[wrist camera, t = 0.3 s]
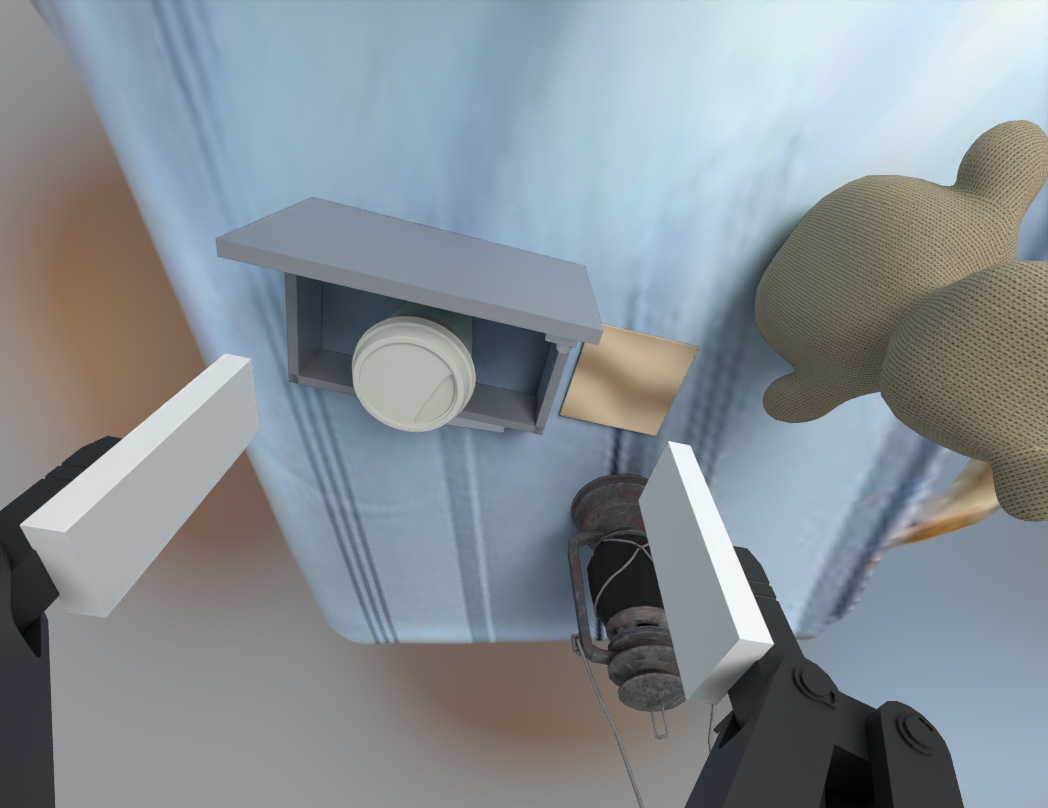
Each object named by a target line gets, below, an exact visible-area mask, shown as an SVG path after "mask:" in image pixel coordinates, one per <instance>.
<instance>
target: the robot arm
mask: <svg viewBox="0 0 1048 808" xmlns="http://www.w3.org/2000/svg"><path fill="white" fill-rule="evenodd" d="M259 431H260V426H259V417H258V409H257V400H256V392H255V383H254V374H253V366H252V359H251V358H245V357H240V356H235V355H230V354H224V355H223V356H221V357H220V358H219V359H218V360H217V361H215V362H214V363H213V364H212V365H211V366H209V367H208V368H207V369H206V370H205V371H203V372H202V373H201V374H200V375H199V376H197V377H196V378H195V379H194V380H193V381H192V382H190V383H189V384H188V385H187V386H186V387H184V388H183V389H182V390H181V391H180V392H178V393H177V394H176V395H175V396H174V397H172V398H171V399H170V400H169V401H168V402H166V403H165V404H164V405H163V406H162V407H160V408H159V409H158V410H157V411H156V412H154V413H153V414H152V415H151V416H150V417H149V418H147V419H146V420H145V421H144V422H142V423H141V424H140V425H139V426H138V427H136V428H135V429H134V430H133V431H132V432H130V433H129V434H128V435H127V436H126V437H125V438H123V439H122V438H117V437H111V436H106V437H104V438H102V439H100V440H97V441H95V442H93V443H91V444H88V445H86V446H84V447H82V448H81V449H79V450H78V451H77V452H75V453H74V454H73V455H72V456H70V457H69V458H68V459H66V460H65V461H64V462H63V463H62V465H61V466H57V467H56V468H55V469H54V470H52V471H51V472H50V473H48V474H47V475H46V477H45V479H41V480H39V481H38V482H37V483H36V484H34V485H33V486H32V487H30V488H29V489H28V490H27V491H25V492H24V493H23V494H21V495H20V496H19V497H18V498H16V499H15V500H14V501H12V502H11V503H10V504H9V505H7V506H6V507H5V508H3V509H2V510H1V511H0V808H55V791H54V766H53V765H54V764H53V739H52V712H51V685H50V660H49V659H50V658H49V631H48V619H47V617H46V614H45V612H44V611H45V610H46V609H47V608H48V607H49V606H50V605H51V604H52V603H53V602H54V600H55V599H56V598H57V597H58V596H59V597H60V599H61V601H62V603H63V605H64V607H65V608H66V610H67V612H70V613H77V614H84V615H91V616H98V617H105V618H106V617H107V616H108V615H109V613H110V612H111V611H112V610H113V609H114V607H115V606H116V605H117V604H118V603H119V601H120V600H121V599H122V598H123V596H124V595H125V594H126V593H127V592H128V590H129V589H130V588H131V587H132V585H133V584H134V583H135V582H136V581H137V579H138V578H139V577H140V576H141V575H142V573H143V572H144V571H145V570H146V569H147V567H148V566H149V565H150V563H151V562H152V561H153V560H154V559H155V558H156V556H157V555H158V554H159V553H160V551H161V550H162V549H163V548H164V547H165V545H166V544H167V543H168V542H169V540H170V539H171V538H172V537H173V536H174V534H175V533H176V532H177V531H178V530H179V528H180V527H181V526H182V525H183V523H184V522H185V521H186V520H187V519H188V518H189V516H190V515H191V514H192V513H193V511H194V510H195V509H196V508H197V507H198V505H199V504H200V503H201V502H202V501H203V499H204V498H205V497H206V496H207V494H208V493H209V492H210V491H211V490H212V488H213V487H214V486H215V485H216V484H217V482H218V481H219V480H220V479H221V477H222V476H223V475H224V473H226V471H227V470H228V469H229V468H230V467H231V465H232V464H233V463H234V462H235V460H236V459H237V458H238V457H239V456H240V454H241V453H242V452H243V451H244V450H245V448H246V447H247V446H248V445H249V443H250V442H251V441H252V440H253V439H254V437H255V436H256V435H257V434H258V433H259ZM639 504H640V509H641V513H642V517H643V521H644V525H645V529H646V534H647V538H648V542H649V546H650V550H651V555H652V559H653V563H654V567H655V571H656V575H657V580H658V584H659V588H660V592H661V596H662V600H663V605H664V609H665V613H666V617H667V621H668V626H669V630H670V634H671V638H672V642H673V646H674V651H675V655H676V659H677V663H678V667H679V672H680V676H681V680H682V684H683V688H684V692H685V697H686V701H693V702H700V703H707V704H714V705H717V704H718V703H719V701H721V699H722V698H723V697H724V696H725V695H726V694H727V693H728V695H729V698H730V701H731V704H732V707H733V710H732V711H731V712H730V713H729V714H728V715H727V716H726V717H725V718H724V719H723V720H722V721H721V722H720V723H719V724H718V725H717V726H716V727H715V728H714V729H713V730H714V731H715V732H716V733H717V734H718V733H719V735H718V737H717V739H716V742H715V743H714V746H713V748H712V750H711V752H710V754H709V756H708V758H707V761H706V763H705V765H704V767H703V769H702V771H701V774H700V775H699V778H698V780H697V782H696V784H695V786H694V788H693V791H692V793H691V795H690V797H689V799H688V801H687V803H686V806H685V808H964V806H963V802H962V798H961V794H960V790H959V787H958V782H957V779H956V774H955V770H954V766H953V762H952V758H951V755H950V752H949V750H948V748H947V745H946V743H945V741H944V740H943V738H942V737H941V736H940V734H939V733H938V731H937V730H936V728H935V727H934V726H933V725H932V724H931V723H930V722H929V721H928V720H927V719H926V718H925V717H924V716H923V715H921V714H920V713H918V712H917V711H915V710H914V709H913V708H911V707H910V706H908V705H906V704H903V703H900V702H898V701H887V702H886V703H884V704H883V705H882V706H880V707H879V708H878V709H875V708H873V707H871V706H869V705H866V704H864V703H862V702H860V701H858V700H856V699H854V698H852V697H850V696H847V695H845V694H843V693H841V692H840V691H838V688H837V687H836V685H835V684H834V682H833V681H832V680H831V678H830V677H829V675H828V674H827V673H825V672H824V671H823V670H822V669H821V668H820V667H819V666H818V665H816V664H815V663H813V662H811V661H810V660H808V659H806V658H805V657H804V656H803V654H802V651H801V649H800V647H799V645H798V643H797V641H796V639H795V636H794V634H793V632H792V630H791V628H790V626H789V624H788V621H787V619H786V617H785V615H784V613H783V611H782V608H781V606H780V604H779V602H778V601H776V596H775V593H774V591H773V589H772V587H771V586H769V581H768V578H767V576H766V574H765V572H764V570H763V568H762V565H761V564H760V563H759V562H758V561H757V559H756V558H755V557H754V556H753V555H752V554H751V552H750V551H749V550H748V549H747V548H742V547H736V546H732V543H731V541H730V539H729V536H728V534H727V532H726V529H725V527H724V524H723V522H722V520H721V517H720V515H719V513H718V510H717V508H716V505H715V503H714V501H713V498H712V496H711V494H710V491H709V489H708V486H707V484H706V482H705V479H704V477H703V475H702V472H701V470H700V467H699V465H698V463H697V460H696V458H695V456H694V453H693V451H692V449H691V446H690V445H685V444H680V443H675V442H670V441H668V442H667V444H666V446H665V448H664V450H663V452H662V454H661V456H660V458H659V460H658V462H657V464H656V466H655V468H654V470H653V472H652V474H651V476H650V478H649V480H648V482H647V484H646V486H645V488H644V490H643V492H642V494H641V496H640V498H639Z"/></svg>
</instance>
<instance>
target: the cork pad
mask: <svg viewBox="0 0 1048 808" xmlns="http://www.w3.org/2000/svg"><path fill="white" fill-rule="evenodd" d="M602 327H603V330H604V331H603V334H602V337H601V339H600V342H599V345H594V344H590V343H585V342H584V344H583V347H582V350H581V353H580V356H579V359H578V361H577V364H576V367H575V370H574V373H573V376H572V379H571V382H570V385H569V388H568V391H567V394H566V397H565V399H564V402H563V405H562V408H561V411H560V415H562V416H566V417H571V418H575V419H580V420H585V421H589V422H594V423H599V424H603V425H608V426H612V427H617V428H622V429H626V430H631V431H636V432H640V433H645V434H650V435H654V436H656V434H657V432H658V430H659V428H660V426H661V424H662V422H663V420H664V418H665V416H666V414H667V412H668V410H669V408H670V406H671V404H672V402H673V400H674V398H675V396H676V394H677V392H678V390H679V388H680V386H681V384H682V382H683V380H684V378H685V376H686V373H687V371H688V369H689V367H690V365H691V363H692V361H693V359H694V357H695V355H696V353H697V351H698V349H699V348H698V347H697V346H692V345H688V344H684V343H680V342H676V341H672V340H667V339H663V338H659V337H655V336H651V335H647V334H642V333H638V332H634V331H630V330H626V329H622V328H617V327H613V326H609V325H605V324H602Z"/></svg>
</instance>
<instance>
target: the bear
mask: <svg viewBox="0 0 1048 808" xmlns="http://www.w3.org/2000/svg"><path fill="white" fill-rule="evenodd" d="M1047 177H1048V137H1047V136H1046V135H1045V133H1044V132H1043V131H1042V129H1041V128H1040V127H1039V126H1038V125H1036V124H1034V123H1032V122H1029V121H1026V120H1019V121H1008V122H1005V123H1002V124H999V125H997V126H995V127H993V128H992V129H990V130H988V131H987V132H985V133H983V134H982V135H981V136H980V137H979V138H978V139H977V140H976V141H975V142H974V143H973V144H972V146H971V147H970V148H969V150H968V151H967V152H966V154H965V156H964V157H963V159H962V161H961V164H960V166H959V170H958V174H957V180H956V183H955V184H954V185H953V186H950V187H949V186H941V185H938V184H935V183H932V182H929V181H925V180H922V179H918V178H912V177H906V176H899V175H874V176H865V177H863V178H860V179H857V180H854V181H852V182H849V183H847V184H846V185H844V186H842V187H840V188H839V189H837V190H835V191H833V192H832V193H830V194H828V195H827V196H825V197H824V198H822V199H821V200H820V201H819V202H818V203H817V204H816V205H815V206H814V207H812V208H811V209H810V210H809V211H808V212H807V214H806V215H805V216H804V217H803V219H802V220H801V221H800V222H799V224H798V225H797V226H796V227H795V229H794V230H793V231H792V233H791V234H790V236H789V237H788V238H787V240H786V241H785V243H784V244H783V245H782V247H781V248H780V250H779V251H778V252H777V254H776V255H775V256H774V258H773V259H772V261H771V262H770V264H769V266H768V267H767V269H766V270H765V272H764V274H763V276H762V278H761V280H760V283H759V285H758V287H757V292H756V298H755V308H754V313H755V324H756V326H757V327H758V329H759V331H760V332H761V334H762V335H763V337H764V339H765V340H766V341H767V342H768V343H769V345H770V346H771V347H772V348H773V349H774V350H775V351H776V352H777V353H779V354H780V355H781V356H782V357H783V358H784V359H786V360H787V361H788V362H789V363H791V364H792V365H793V367H794V368H795V371H794V372H793V373H790V374H788V375H785V376H783V377H781V378H779V379H777V380H776V381H774V382H773V383H772V384H771V385H770V386H769V387H768V389H767V390H766V391H765V393H764V398H763V405H764V408H765V410H766V412H767V413H768V414H769V415H770V416H771V417H773V418H775V419H776V420H780V421H784V422H789V423H800V422H807V421H812V420H815V419H818V418H820V417H822V416H824V415H826V414H827V413H828V412H830V411H831V410H833V409H834V408H835V407H837V406H838V405H840V404H842V403H844V402H846V401H848V400H850V399H853V398H856V397H859V396H862V395H866V394H871V393H876V392H881V396H882V398H883V399H884V401H885V402H886V404H887V405H888V406H889V408H890V409H891V411H892V412H893V414H894V415H895V416H896V417H897V418H898V419H899V420H900V421H901V422H902V423H904V424H905V425H907V426H908V427H909V428H911V429H912V430H914V431H915V432H917V433H918V434H920V435H921V436H923V437H925V438H926V439H928V440H930V441H932V442H934V443H936V444H939V445H941V446H943V447H945V448H948V449H950V450H952V451H954V452H957V453H959V454H962V455H964V456H967V457H970V458H974V459H977V460H981V461H985V462H989V463H990V464H991V466H992V471H993V479H994V486H995V492H996V496H997V499H998V502H999V503H1000V505H1001V507H1002V508H1003V509H1004V510H1005V511H1006V512H1007V513H1008V514H1009V515H1011V516H1013V517H1015V518H1017V519H1020V520H1024V521H1045V520H1048V262H1046V261H1024V260H1016V246H1017V235H1018V231H1019V227H1020V224H1021V221H1022V219H1023V216H1024V215H1025V213H1026V211H1027V209H1028V207H1029V206H1030V204H1031V203H1032V201H1033V200H1034V198H1035V197H1036V196H1037V194H1038V193H1039V191H1040V190H1041V188H1042V187H1043V185H1044V183H1045V181H1046V179H1047Z"/></svg>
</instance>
